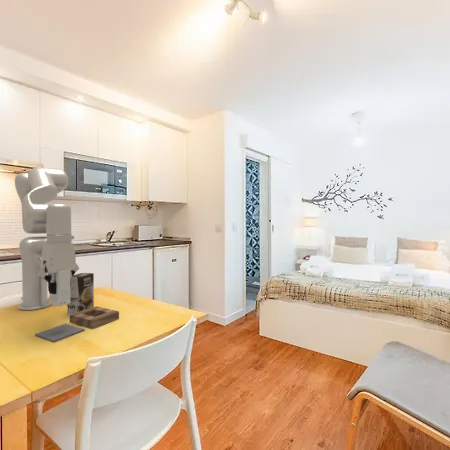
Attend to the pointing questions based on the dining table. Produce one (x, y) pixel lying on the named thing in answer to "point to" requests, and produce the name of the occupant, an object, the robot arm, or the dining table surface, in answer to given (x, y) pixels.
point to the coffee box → (81, 293)
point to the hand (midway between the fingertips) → (59, 291)
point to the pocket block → (94, 317)
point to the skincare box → (61, 289)
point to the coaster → (59, 332)
